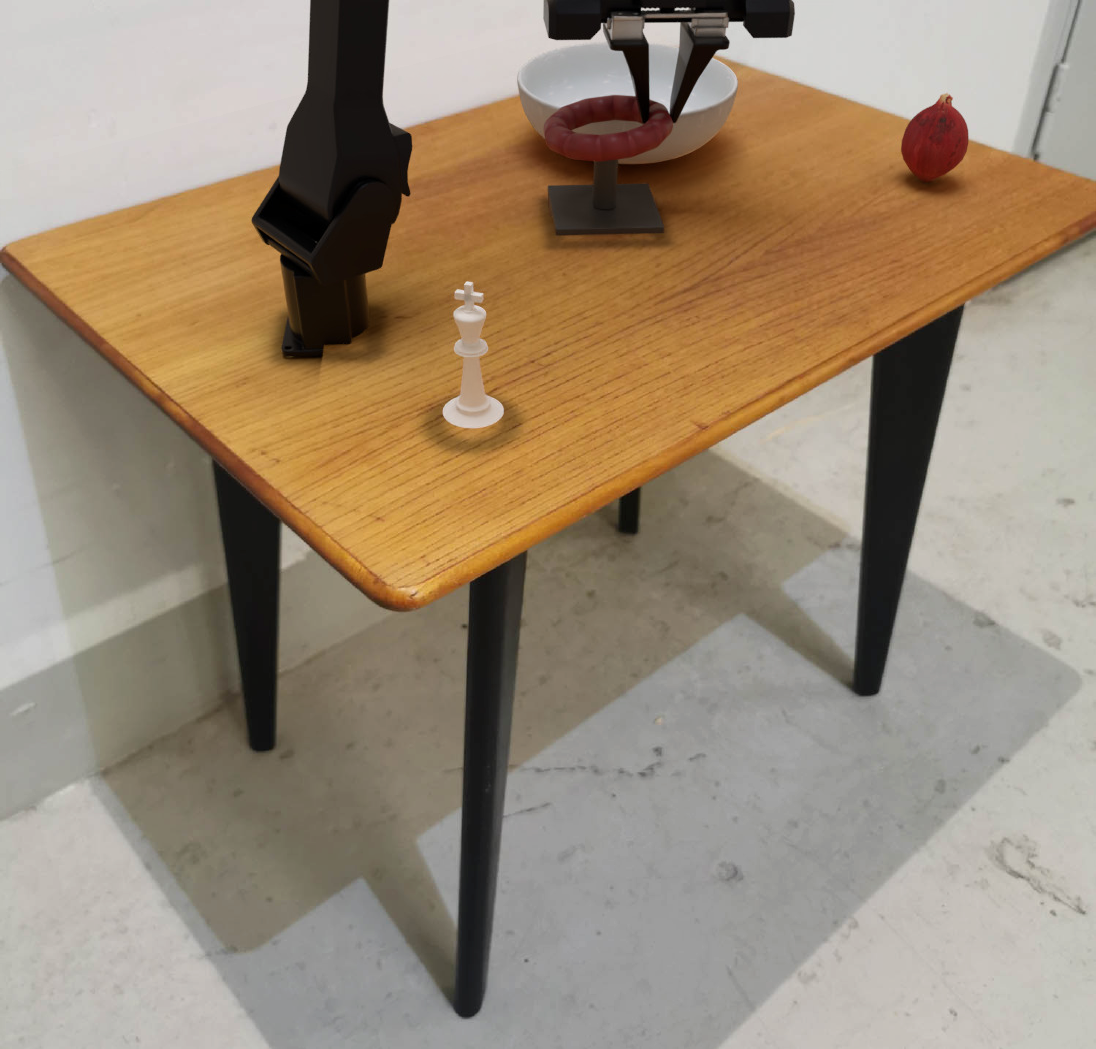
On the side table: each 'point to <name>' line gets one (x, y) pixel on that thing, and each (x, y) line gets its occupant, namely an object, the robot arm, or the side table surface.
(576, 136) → the ring
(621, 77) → the serving bowl
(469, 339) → the chess piece
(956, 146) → the onion
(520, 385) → the side table surface
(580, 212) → the post
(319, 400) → the side table surface
